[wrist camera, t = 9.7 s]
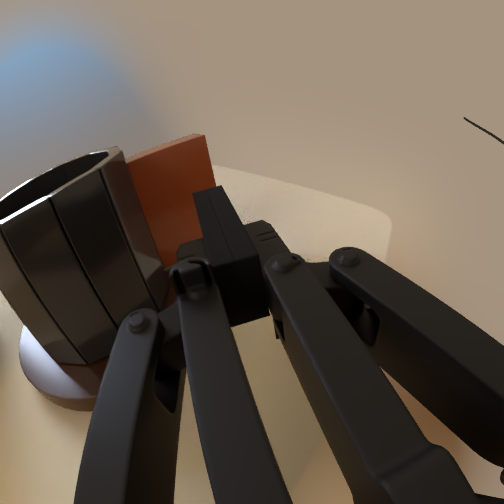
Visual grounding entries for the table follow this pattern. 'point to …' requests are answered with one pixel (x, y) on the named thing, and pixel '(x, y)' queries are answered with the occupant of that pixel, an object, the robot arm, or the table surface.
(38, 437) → the table surface
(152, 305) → the mug
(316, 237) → the table surface
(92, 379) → the turntable
